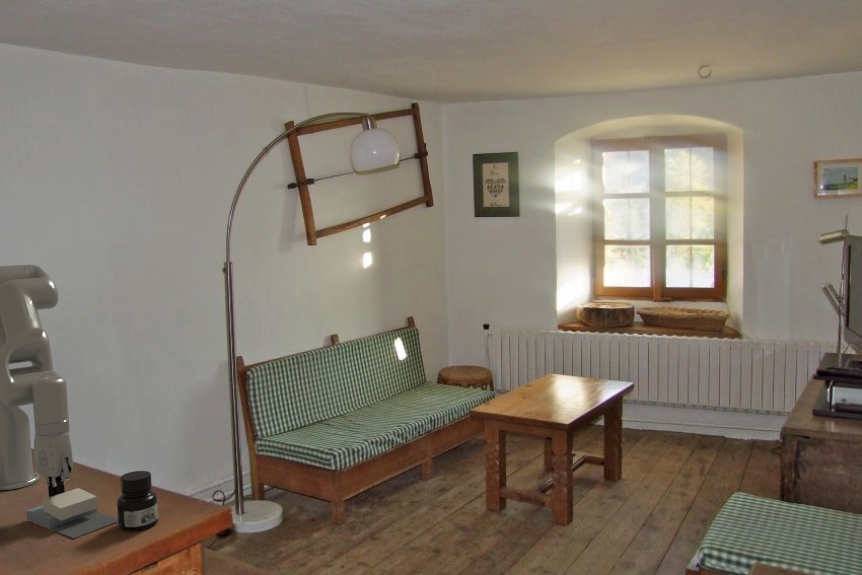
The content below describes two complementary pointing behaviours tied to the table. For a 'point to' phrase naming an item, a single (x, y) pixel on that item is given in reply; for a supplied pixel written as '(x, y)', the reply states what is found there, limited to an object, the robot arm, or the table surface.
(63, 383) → the robot arm
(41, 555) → the table surface
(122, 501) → the ink bottle
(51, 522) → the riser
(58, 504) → the tile
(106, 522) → the mat
